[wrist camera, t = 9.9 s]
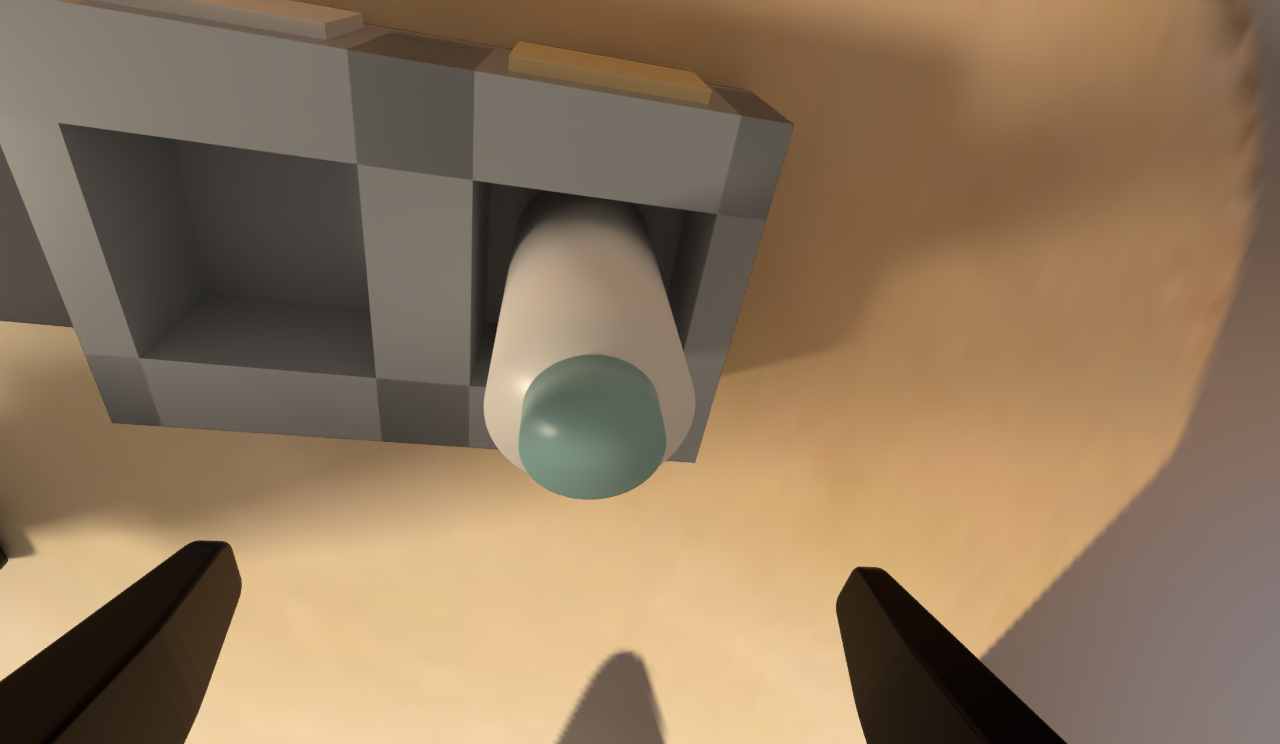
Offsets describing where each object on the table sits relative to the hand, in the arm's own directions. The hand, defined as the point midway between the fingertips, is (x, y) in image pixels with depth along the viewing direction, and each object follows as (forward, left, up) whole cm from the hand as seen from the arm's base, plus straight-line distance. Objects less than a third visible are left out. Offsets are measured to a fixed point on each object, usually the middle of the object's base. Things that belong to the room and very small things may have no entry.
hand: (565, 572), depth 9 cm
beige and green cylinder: (0, 0, -11) cm, 11 cm away
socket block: (-4, 0, -12) cm, 12 cm away
